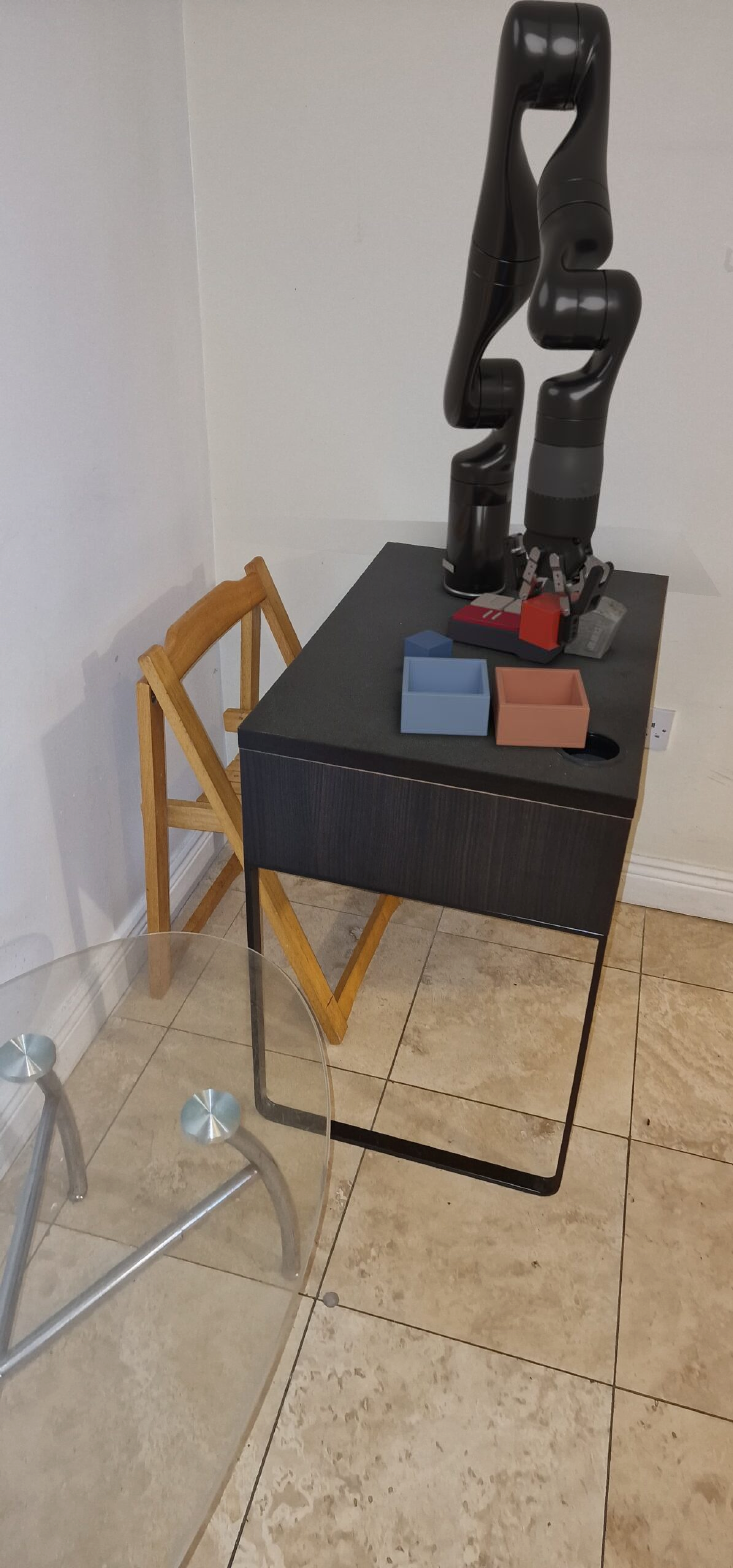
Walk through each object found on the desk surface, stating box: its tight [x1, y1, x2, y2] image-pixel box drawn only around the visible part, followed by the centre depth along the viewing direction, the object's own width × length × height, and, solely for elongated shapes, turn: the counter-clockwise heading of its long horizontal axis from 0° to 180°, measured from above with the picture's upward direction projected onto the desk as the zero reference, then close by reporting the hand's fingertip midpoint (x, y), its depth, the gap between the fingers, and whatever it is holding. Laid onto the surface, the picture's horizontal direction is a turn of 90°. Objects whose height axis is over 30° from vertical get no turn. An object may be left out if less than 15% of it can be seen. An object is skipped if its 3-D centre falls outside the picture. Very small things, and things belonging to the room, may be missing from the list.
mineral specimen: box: [563, 595, 628, 660], centre depth 136 cm, size 7×9×8 cm
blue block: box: [403, 629, 454, 658], centre depth 132 cm, size 4×4×4 cm
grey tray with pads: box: [447, 593, 566, 664], centre depth 141 cm, size 11×4×15 cm
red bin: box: [491, 666, 591, 749], centre depth 119 cm, size 10×10×5 cm
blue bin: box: [400, 656, 491, 737], centre depth 121 cm, size 10×10×5 cm
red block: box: [519, 591, 572, 650], centre depth 113 cm, size 4×4×4 cm
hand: (546, 636), depth 114 cm, fingers closed on red block, 4 cm apart
